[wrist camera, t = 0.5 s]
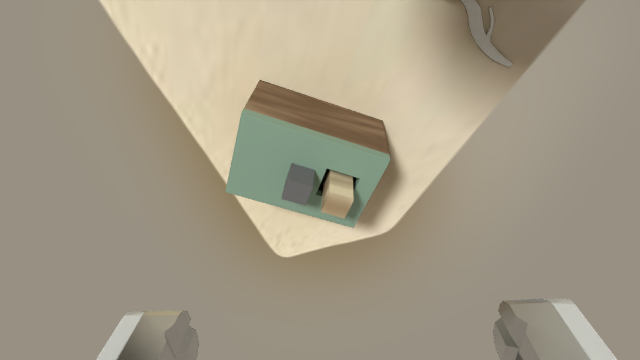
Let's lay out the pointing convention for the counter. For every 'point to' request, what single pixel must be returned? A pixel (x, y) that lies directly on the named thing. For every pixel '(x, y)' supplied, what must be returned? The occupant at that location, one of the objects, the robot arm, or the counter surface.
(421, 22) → the counter surface
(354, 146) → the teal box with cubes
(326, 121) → the toolbox
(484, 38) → the pliers
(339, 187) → the wooden block
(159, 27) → the counter surface
